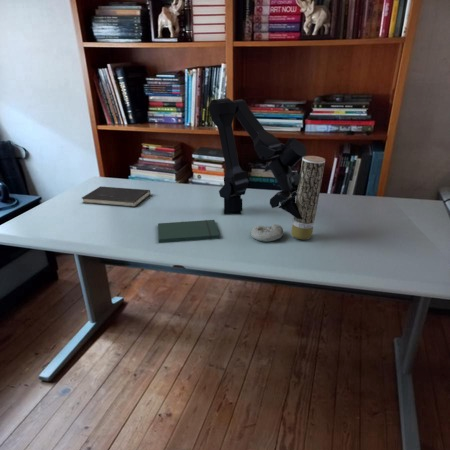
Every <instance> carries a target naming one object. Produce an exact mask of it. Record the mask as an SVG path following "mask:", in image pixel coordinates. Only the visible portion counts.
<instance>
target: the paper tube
mask: <svg viewBox="0 0 450 450" xmlns="http://www.w3.org/2000/svg"><path fill="white" fill-rule="evenodd" d="M325 164H326V158H325V157H321V156H317V155H305V156H304V157H303V158H302V159H301V165H300V166H301V167H300V172H299V174H301V175H300V181H299V185H298V191H297V192H296V193H297V196H295V203H296V205H297V207H298V210H299V213H300V215H301V217H302V219H297V218H296V217H294V216H293V219H292V224H291V225H292V226H291V233H290V234H291V236H292V237H293V238H294V239H297V240H301V241H302V240H304V241H305V240H309V239H311V238H312V236H313V231H314V226H315V221H316V216H317V209H318V205H319V204H318V203H319V197H320V192H321V187H322V181H323V175H324V170H325Z"/></svg>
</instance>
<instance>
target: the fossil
mask: <svg viewBox="0 0 450 450" xmlns="http://www.w3.org/2000/svg"><path fill="white" fill-rule="evenodd" d="M283 236H284V228H283V227H282V226H281V225H280V224H273V225H272V226H264V225H258V226H255V227H253V228H252V229H251V231H250V237H252V238H253V240H257V241H259V242H260V241H261V242H273V241H277V240H279V239H281V238H282V237H283Z"/></svg>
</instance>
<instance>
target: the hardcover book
mask: <svg viewBox="0 0 450 450" xmlns="http://www.w3.org/2000/svg"><path fill="white" fill-rule="evenodd" d="M150 196H151V190H150V189H142V188H129V187H128V188H127V187H113V186H99V187H97V188H95V189H94V190H92V191H90V192H89V193H87V194H85V195H84V196H82V197H81V199H82V204H87V205H88V204H89V205H99V206H113V207H124V208H136V207H138V205H140V204H141V203H142V202H144V201H145V200H146V199H147V198H149V197H150Z"/></svg>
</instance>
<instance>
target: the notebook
mask: <svg viewBox="0 0 450 450" xmlns="http://www.w3.org/2000/svg"><path fill="white" fill-rule="evenodd" d="M157 233H158V234H157V235H158V243H174V242H188V241H203V240H215V239H220V238H221V237H220V233H219V230H218V227H217V223H216V220H215V219H203V220H191V221H190V220H188V221H175V222H159V223H157Z"/></svg>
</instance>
